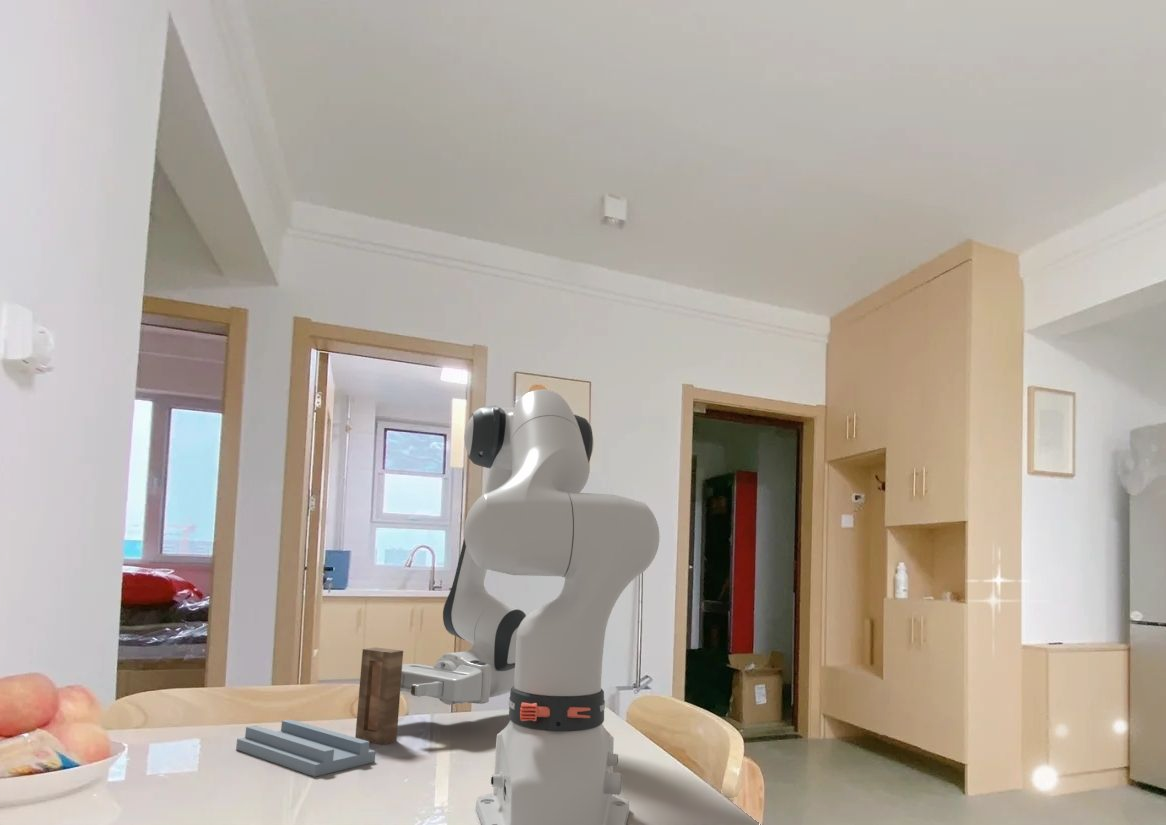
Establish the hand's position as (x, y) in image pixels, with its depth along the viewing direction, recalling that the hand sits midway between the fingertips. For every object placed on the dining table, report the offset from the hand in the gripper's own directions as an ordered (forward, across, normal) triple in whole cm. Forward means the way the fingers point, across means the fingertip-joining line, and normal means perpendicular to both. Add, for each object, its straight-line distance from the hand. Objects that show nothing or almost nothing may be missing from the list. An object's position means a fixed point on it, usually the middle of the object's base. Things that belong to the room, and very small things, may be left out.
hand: (395, 686), depth 125 cm
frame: (+3, 0, +8) cm, 8 cm away
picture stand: (+16, 0, +8) cm, 18 cm away
